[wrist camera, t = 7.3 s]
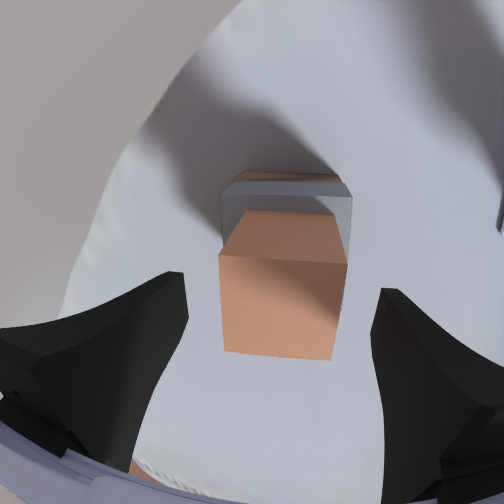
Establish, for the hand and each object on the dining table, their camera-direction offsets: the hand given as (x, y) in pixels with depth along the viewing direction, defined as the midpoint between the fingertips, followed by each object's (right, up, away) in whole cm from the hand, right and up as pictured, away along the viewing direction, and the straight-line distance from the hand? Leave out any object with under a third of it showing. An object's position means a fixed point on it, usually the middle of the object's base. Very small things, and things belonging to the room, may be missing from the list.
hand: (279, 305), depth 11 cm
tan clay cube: (+1, +2, +4) cm, 4 cm away
